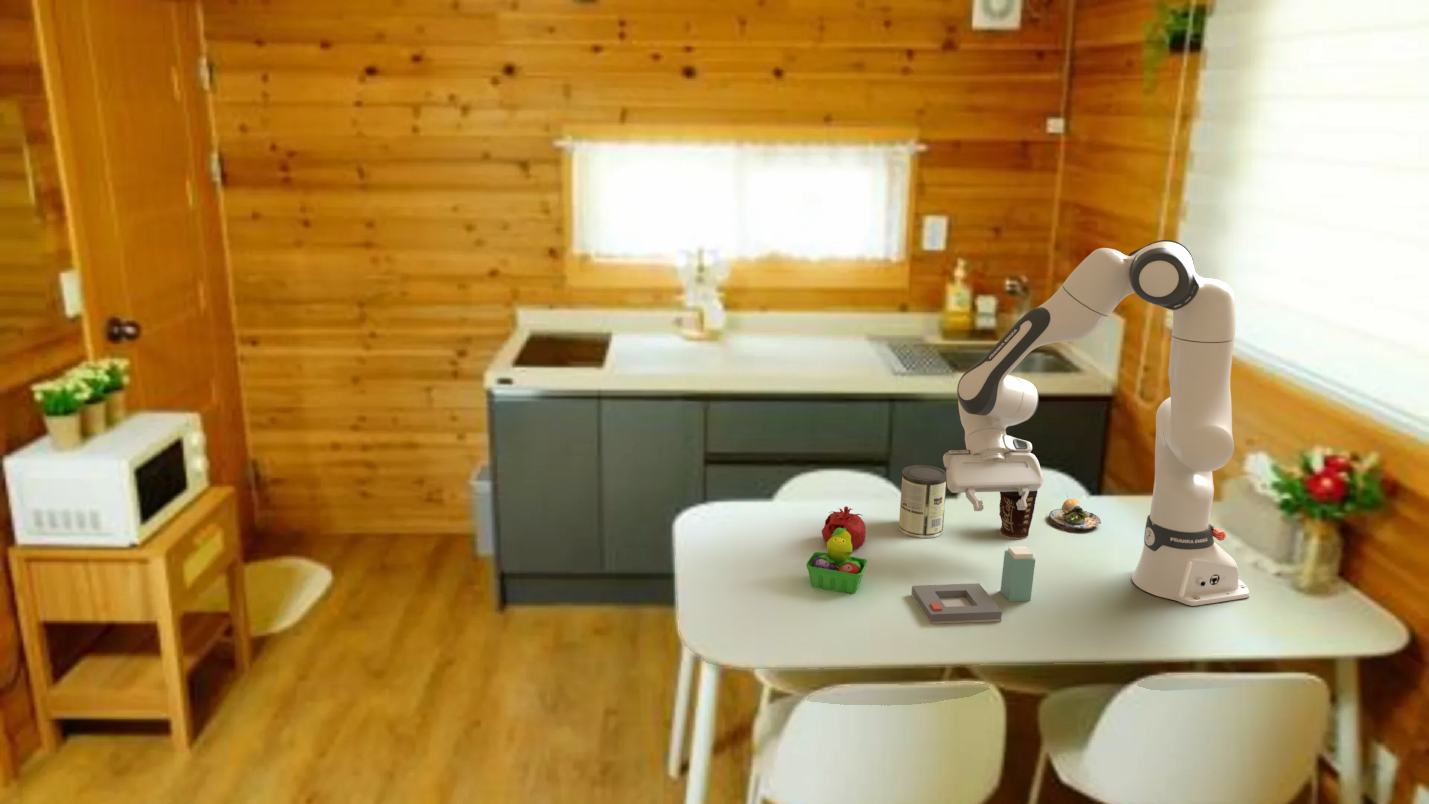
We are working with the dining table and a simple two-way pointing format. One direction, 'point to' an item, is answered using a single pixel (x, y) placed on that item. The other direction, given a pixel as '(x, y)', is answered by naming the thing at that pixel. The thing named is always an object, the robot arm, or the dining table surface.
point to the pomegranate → (845, 526)
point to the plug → (1017, 574)
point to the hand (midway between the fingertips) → (1000, 509)
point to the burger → (1072, 517)
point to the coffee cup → (1016, 514)
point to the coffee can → (922, 501)
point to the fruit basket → (836, 565)
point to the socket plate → (956, 603)
